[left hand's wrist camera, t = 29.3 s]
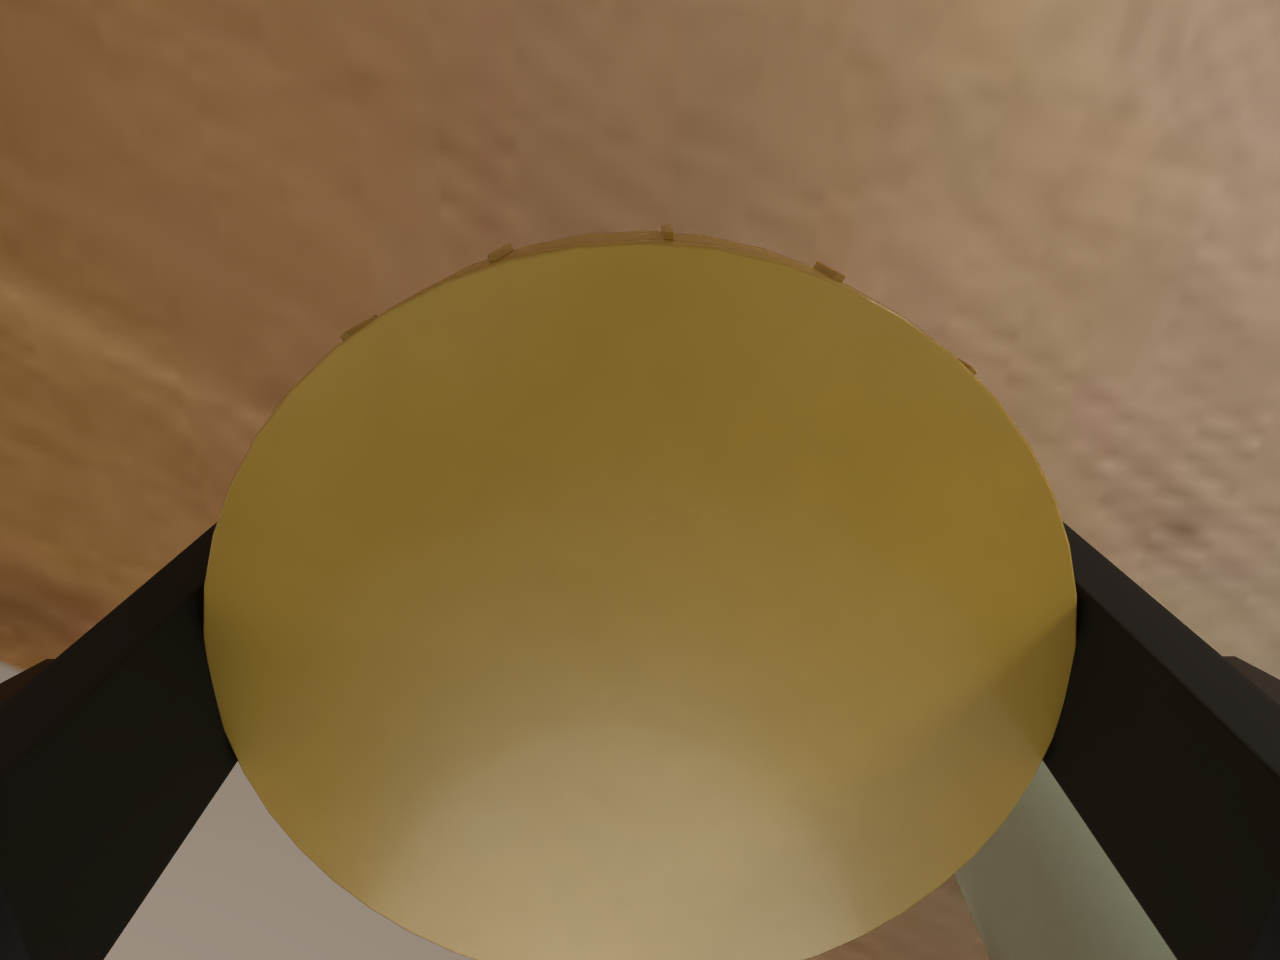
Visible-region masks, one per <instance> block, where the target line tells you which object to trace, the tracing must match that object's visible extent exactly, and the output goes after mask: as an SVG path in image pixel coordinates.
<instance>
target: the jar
mask: <svg viewBox="0 0 1280 960" xmlns="http://www.w3.org/2000/svg"><path fill="white" fill-rule="evenodd" d="M954 875H955V878H956V880H957V882H958V885H959V887H960V889H961V892H962V894H963V896H964V899H965V901H966V903H967V906H968V908H969V910H970V913H971V915H972V917H973V920H974V922H975V925H976V927H977V929H978V932H979V934H980V936H981V939H982V941H983V943H984V946H985V948H986V950H987V953H988V955H989V957H990V960H1177V959H1176V957H1175V956H1174V954H1173V953H1172V951H1171V950H1170V948H1169V947H1168V945H1167V944H1166V943H1165V941H1164V940H1163V938H1162V937H1161V935H1160V934H1159V932H1158V931H1157V929H1156V928H1155V926H1154V925H1153V923H1152V922H1151V920H1150V919H1149V917H1148V916H1147V914H1146V913H1145V911H1144V910H1143V908H1142V907H1141V905H1140V904H1139V903H1138V901H1137V900H1136V898H1135V897H1134V895H1133V894H1132V892H1131V891H1130V889H1129V888H1128V886H1127V885H1126V883H1125V882H1124V880H1123V879H1122V877H1121V876H1120V874H1119V873H1118V871H1117V870H1116V868H1115V867H1114V865H1113V864H1112V863H1111V861H1110V860H1109V858H1108V857H1107V855H1106V854H1105V852H1104V851H1103V849H1102V848H1101V846H1100V845H1099V843H1098V842H1097V840H1096V839H1095V837H1094V836H1093V834H1092V833H1091V831H1090V830H1089V828H1088V827H1087V825H1086V824H1085V823H1084V821H1083V820H1082V818H1081V817H1080V815H1079V814H1078V812H1077V811H1076V809H1075V808H1074V806H1073V805H1072V803H1071V802H1070V800H1069V799H1068V797H1067V796H1066V794H1065V793H1064V791H1063V790H1062V788H1061V787H1060V785H1059V784H1058V783H1057V781H1056V780H1055V778H1054V777H1053V775H1052V774H1051V772H1050V771H1049V769H1048V768H1047V766H1046V765H1045V763H1044V762H1043V760H1042V762H1041V764H1040V766H1039V768H1038V770H1037V772H1036V774H1035V776H1034V778H1033V780H1032V782H1031V783H1030V785H1029V786H1028V788H1027V789H1026V791H1025V792H1024V794H1023V795H1022V797H1021V798H1020V799H1019V801H1018V802H1017V804H1016V805H1015V807H1014V808H1013V810H1012V811H1011V813H1010V814H1009V816H1008V817H1007V819H1006V820H1005V821H1004V822H1003V824H1002V825H1001V826H1000V827H999V828H998V829H997V830H996V832H995V833H994V834H993V835H992V836H991V837H990V838H989V840H988V841H987V842H986V843H985V844H984V845H983V846H982V848H981V849H980V850H979V851H978V852H977V853H976V854H975V855H974V856H973V857H972V858H971V859H970V860H969V861H968V862H967V863H966V864H965V865H963V866H962V867H961V868H960V869H959V870H958V871H957V872H956V873H955V874H954Z"/></svg>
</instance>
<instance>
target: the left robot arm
mask: <svg viewBox="0 0 1280 960" xmlns="http://www.w3.org/2000/svg"><path fill="white" fill-rule="evenodd" d="M1062 522H1063V521H1062ZM216 524H217V523H216ZM216 524H214V525H213V526H212V527H211V528H210V529H209V530H207V531H206V532H205V533H204V534H203V535H201V536H200V537H199V538H198V539H197V540H196V541H194V542H193V543H192V544H191V545H190V546H188V547H187V548H186V549H185V550H184V551H183V552H181V553H180V554H179V555H178V556H177V557H175V558H174V559H173V560H172V561H171V562H169V563H168V564H167V565H166V566H165V567H164V568H162V569H161V570H160V571H159V572H158V573H156V574H155V575H154V576H153V577H152V578H151V579H149V580H148V581H147V582H146V583H145V584H143V585H142V586H141V587H140V588H139V589H138V590H136V591H135V592H134V593H133V594H132V595H130V596H129V597H128V598H127V599H126V600H125V601H123V602H122V603H121V604H120V605H119V606H117V607H116V608H115V609H114V610H113V611H112V612H110V613H109V614H108V615H107V616H106V617H104V618H103V619H102V620H101V621H100V622H99V623H97V624H96V625H95V626H94V627H93V628H91V629H90V630H89V631H88V632H87V633H86V634H84V635H83V636H82V637H81V638H80V639H78V640H77V641H76V642H75V643H74V644H72V645H71V646H70V647H69V648H68V649H67V650H65V651H64V652H63V653H62V654H61V655H59V656H58V657H57V658H56V659H46V660H44V661H42V662H40V663H38V664H36V665H35V666H33V667H31V668H29V669H27V670H25V671H23V672H21V673H19V674H18V675H16V676H14V677H12V678H10V679H8V680H6V681H4V682H2V683H0V960H104V958H105V957H106V955H107V954H108V952H109V951H110V949H111V948H112V946H113V945H114V943H115V942H116V940H117V939H118V937H119V936H120V934H121V933H122V931H123V930H124V928H125V927H126V926H127V924H128V922H129V921H130V920H131V918H132V917H133V915H134V914H135V912H136V911H137V909H138V908H139V906H140V905H141V903H142V902H143V900H144V899H145V897H146V896H147V894H148V893H149V891H150V890H151V888H152V887H153V886H154V884H155V883H156V881H157V880H158V878H159V877H160V875H161V874H162V872H163V871H164V869H165V868H166V866H167V865H168V863H169V862H170V860H171V859H172V857H173V856H174V854H175V853H176V851H177V850H178V848H179V847H180V846H181V844H182V843H183V841H184V840H185V838H186V837H187V835H188V834H189V832H190V831H191V829H192V828H193V826H194V825H195V823H196V822H197V820H198V819H199V817H200V816H201V814H202V813H203V811H204V810H205V808H206V807H207V806H208V804H209V803H210V801H211V800H212V798H213V797H214V795H215V793H216V792H217V791H218V789H219V788H220V786H221V785H222V783H223V782H224V780H225V779H226V777H227V776H228V774H229V773H230V771H231V770H232V768H233V767H234V765H235V764H236V762H237V761H238V759H237V757H236V755H235V753H234V751H233V749H232V746H231V744H230V742H229V740H228V738H227V736H226V733H225V731H224V728H223V724H222V720H221V716H220V712H219V708H218V704H217V700H216V696H215V692H214V688H213V683H212V679H211V675H210V670H209V665H208V660H207V656H206V651H205V644H204V637H203V627H204V583H205V578H206V572H207V566H208V560H209V555H210V549H211V543H212V537H213V533H214V530H215V527H216ZM1063 525H1064V528H1065V531H1066V534H1067V538H1068V541H1069V544H1070V551H1071V558H1072V565H1073V572H1074V579H1075V586H1076V593H1077V622H1076V649H1075V654H1074V659H1073V663H1072V668H1071V673H1070V677H1069V682H1068V686H1067V691H1066V695H1065V699H1064V703H1063V707H1062V711H1061V714H1060V718H1059V722H1058V725H1057V728H1056V731H1055V734H1054V737H1053V740H1052V742H1051V744H1050V746H1049V748H1048V750H1047V752H1046V754H1045V756H1044V758H1043V762H1044V763H1045V765H1046V766H1047V768H1048V769H1049V771H1050V772H1051V774H1052V775H1053V777H1054V778H1055V780H1056V781H1057V783H1058V784H1059V785H1060V787H1061V788H1062V790H1063V791H1064V793H1065V794H1066V796H1067V797H1068V799H1069V800H1070V802H1071V803H1072V805H1073V806H1074V808H1075V809H1076V811H1077V812H1078V814H1079V815H1080V817H1081V818H1082V820H1083V821H1084V823H1085V824H1086V825H1087V827H1088V828H1089V830H1090V831H1091V833H1092V834H1093V836H1094V837H1095V839H1096V840H1097V842H1098V843H1099V845H1100V846H1101V848H1102V849H1103V851H1104V852H1105V854H1106V855H1107V857H1108V858H1109V860H1110V861H1111V863H1112V864H1113V865H1114V867H1115V868H1116V870H1117V871H1118V873H1119V874H1120V876H1121V877H1122V879H1123V880H1124V882H1125V883H1126V885H1127V886H1128V888H1129V889H1130V891H1131V892H1132V894H1133V895H1134V897H1135V898H1136V900H1137V901H1138V903H1139V904H1140V905H1141V907H1142V908H1143V910H1144V911H1145V913H1146V914H1147V916H1148V917H1149V919H1150V920H1151V922H1152V923H1153V925H1154V926H1155V928H1156V929H1157V931H1158V932H1159V934H1160V935H1161V937H1162V938H1163V940H1164V941H1165V943H1166V944H1167V945H1168V947H1169V948H1170V950H1171V951H1172V953H1173V954H1174V956H1175V957H1176V959H1177V960H1280V680H1279V679H1277V678H1275V677H1273V676H1271V675H1269V674H1267V673H1266V672H1264V671H1262V670H1260V669H1258V668H1256V667H1254V666H1252V665H1250V664H1248V663H1246V662H1245V661H1243V660H1241V659H1239V658H1237V657H1235V656H1221V655H1220V654H1219V653H1218V652H1216V651H1215V650H1214V649H1213V648H1212V647H1210V646H1209V645H1208V644H1207V643H1206V642H1205V641H1203V640H1202V639H1201V638H1200V637H1199V636H1197V635H1196V634H1195V633H1194V632H1193V631H1192V630H1190V629H1189V628H1188V627H1187V626H1186V625H1184V624H1183V623H1182V622H1181V621H1180V620H1179V619H1177V618H1176V617H1175V616H1174V615H1173V614H1171V613H1170V612H1169V611H1168V610H1167V609H1165V608H1164V607H1163V606H1162V605H1161V604H1160V603H1158V602H1157V601H1156V600H1155V599H1154V598H1152V597H1151V596H1150V595H1149V594H1148V593H1147V592H1145V591H1144V590H1143V589H1142V588H1141V587H1139V586H1138V585H1137V584H1136V583H1135V582H1134V581H1132V580H1131V579H1130V578H1129V577H1128V576H1126V575H1125V574H1124V573H1123V572H1122V571H1121V570H1119V569H1118V568H1117V567H1116V566H1115V565H1113V564H1112V563H1111V562H1110V561H1109V560H1108V559H1106V558H1105V557H1104V556H1103V555H1102V554H1100V553H1099V552H1098V551H1097V550H1096V549H1095V548H1093V547H1092V546H1091V545H1090V544H1089V543H1087V542H1086V541H1085V540H1084V539H1083V538H1081V537H1080V536H1079V535H1078V534H1077V533H1076V532H1074V531H1073V530H1072V529H1071V528H1070V527H1068V526H1067V525H1066V524H1065V523H1064V522H1063Z"/></svg>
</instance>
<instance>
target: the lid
mask: <svg viewBox="0 0 1280 960" xmlns="http://www.w3.org/2000/svg"><path fill="white" fill-rule="evenodd" d="M488 258H489V259H487V260H484V261H481V262H478V263H475V264H473V265H471V266H469V267H467V268H465V269H463V270H461V271H459V272H457V273H455V274H453V275H451V276H449V277H447V278H445V279H443V280H441V281H439V282H437V283H435V284H433V285H431V286H429V287H427V288H425V289H424V290H422V291H420V292H418V293H416V294H415V295H413V296H411V297H409V298H408V299H406V300H404V301H402V302H401V303H399V304H397V305H396V306H394V307H392V308H390V309H388V310H387V311H385V312H384V313H383V314H381V315H380V316H377V315H374V316H373V317H371V318H369V319H367V320H365V321H364V322H362V323H360V324H358V325H357V326H355V327H353V328H351V329H349V330H348V331H346V332H345V333H344V334H342V335H341V336H340V337H341V338H342V339H343V340H344V341H343V342H342V343H340V344H339V345H337V346H336V347H335V348H334V349H333V350H332V351H331V352H330V353H329V354H328V355H326V356H325V357H324V358H323V359H322V360H321V361H320V362H319V363H318V364H317V365H316V366H315V367H314V368H313V369H312V370H311V371H310V372H309V373H308V374H307V375H306V376H305V377H304V378H303V379H302V380H301V381H299V382H298V383H297V384H296V385H295V386H294V387H293V388H292V389H291V391H290V392H289V393H288V395H287V396H286V397H285V398H284V400H283V401H282V402H281V404H280V405H279V406H278V408H277V409H276V410H275V412H274V413H273V414H272V416H271V417H270V418H269V419H268V421H267V422H266V423H265V425H264V426H263V427H262V429H261V430H260V431H259V433H258V434H257V435H256V437H255V439H254V441H253V443H252V445H251V447H250V448H249V450H248V452H247V454H246V456H245V458H244V460H243V461H242V463H241V465H240V467H239V469H238V471H237V473H236V474H235V476H234V478H233V480H232V482H231V484H230V487H229V490H228V492H227V495H226V498H225V501H224V504H223V507H222V510H221V513H220V516H219V518H218V521H217V524H216V527H215V530H214V533H213V537H212V543H211V549H210V555H209V560H208V566H207V572H206V578H205V583H204V627H203V637H204V644H205V651H206V656H207V660H208V665H209V670H210V675H211V679H212V683H213V688H214V692H215V696H216V700H217V704H218V708H219V712H220V716H221V720H222V724H223V728H224V731H225V733H226V736H227V738H228V740H229V742H230V744H231V746H232V749H233V751H234V753H235V755H236V757H237V759H238V761H239V764H240V766H241V768H242V770H243V772H244V774H245V776H246V777H247V779H248V780H249V782H250V783H251V785H252V787H253V788H254V790H255V791H256V793H257V794H258V796H259V798H260V799H261V801H262V802H263V804H264V805H265V807H266V809H267V810H268V812H269V813H270V814H271V815H272V817H273V818H274V819H275V820H276V821H277V823H278V824H279V825H280V826H281V827H282V829H283V830H284V831H285V832H286V833H287V835H288V836H289V837H290V838H291V839H292V841H293V842H294V843H295V844H296V845H297V847H298V848H299V849H300V850H301V851H302V852H303V853H304V854H305V855H306V856H308V857H309V858H310V859H311V860H312V861H313V862H314V863H315V864H316V865H317V866H318V867H319V868H320V869H321V870H322V871H323V872H324V873H326V874H327V875H328V876H329V877H330V878H331V879H332V880H333V881H334V882H336V883H337V884H338V885H340V886H341V887H342V888H344V889H345V890H346V891H348V892H349V893H350V894H352V895H353V896H354V897H356V898H357V899H358V900H360V901H361V902H362V903H364V904H365V905H366V906H368V907H369V908H370V909H372V910H374V911H375V912H377V913H379V914H380V915H382V916H384V917H386V918H387V919H389V920H391V921H392V922H394V923H396V924H397V925H399V926H401V927H402V928H404V929H406V930H407V931H409V932H411V933H413V934H415V935H417V936H420V937H422V938H424V939H426V940H428V941H430V942H433V943H435V944H437V945H439V946H441V947H443V948H445V949H448V950H450V951H452V952H455V953H457V954H460V955H463V956H466V957H469V958H472V959H475V960H806V959H809V958H812V957H815V956H818V955H821V954H823V953H825V952H828V951H830V950H832V949H834V948H837V947H839V946H841V945H843V944H846V943H848V942H850V941H853V940H855V939H857V938H859V937H862V936H863V935H865V934H867V933H869V932H871V931H872V930H874V929H876V928H878V927H879V926H881V925H883V924H885V923H886V922H888V921H890V920H892V919H894V918H895V917H897V916H899V915H901V914H902V913H904V912H905V911H907V910H908V909H909V908H911V907H912V906H914V905H915V904H916V903H918V902H919V901H920V900H922V899H923V898H925V897H926V896H927V895H929V894H930V893H932V892H933V891H934V890H936V889H937V888H939V887H940V886H941V885H942V884H943V883H945V882H946V881H947V880H948V879H949V878H950V877H951V876H952V875H953V874H955V873H956V872H957V871H958V870H959V869H960V868H961V867H962V866H963V865H965V864H966V863H967V862H968V861H969V860H970V859H971V858H972V857H973V856H974V855H975V854H976V853H977V852H978V851H979V850H980V849H981V848H982V846H983V845H984V844H985V843H986V842H987V841H988V840H989V838H990V837H991V836H992V835H993V834H994V833H995V832H996V830H997V829H998V828H999V827H1000V826H1001V825H1002V824H1003V822H1004V821H1005V820H1006V819H1007V817H1008V816H1009V814H1010V813H1011V811H1012V810H1013V808H1014V807H1015V805H1016V804H1017V802H1018V801H1019V799H1020V798H1021V797H1022V795H1023V794H1024V792H1025V791H1026V789H1027V788H1028V786H1029V785H1030V783H1031V782H1032V780H1033V778H1034V776H1035V774H1036V772H1037V770H1038V768H1039V766H1040V764H1041V762H1042V760H1043V758H1044V756H1045V754H1046V752H1047V750H1048V748H1049V746H1050V744H1051V742H1052V740H1053V737H1054V734H1055V731H1056V728H1057V725H1058V722H1059V718H1060V714H1061V711H1062V707H1063V703H1064V699H1065V695H1066V691H1067V686H1068V682H1069V677H1070V673H1071V668H1072V663H1073V659H1074V654H1075V649H1076V622H1077V593H1076V586H1075V579H1074V572H1073V565H1072V558H1071V551H1070V544H1069V541H1068V538H1067V534H1066V531H1065V528H1064V525H1063V522H1062V518H1061V515H1060V512H1059V509H1058V505H1057V502H1056V499H1055V496H1054V493H1053V491H1052V489H1051V487H1050V485H1049V483H1048V481H1047V479H1046V477H1045V475H1044V473H1043V471H1042V469H1041V467H1040V465H1039V463H1038V461H1037V459H1036V457H1035V455H1034V453H1033V451H1032V449H1031V447H1030V445H1029V443H1028V442H1027V440H1026V439H1025V438H1024V436H1023V435H1022V433H1021V432H1020V431H1019V429H1018V428H1017V426H1016V425H1015V424H1014V422H1013V421H1012V419H1011V418H1010V417H1009V415H1008V414H1007V412H1006V411H1005V410H1004V408H1003V407H1002V405H1001V404H1000V403H999V401H998V400H997V398H996V397H995V396H994V395H993V394H992V393H991V392H990V391H989V390H988V389H987V388H986V387H985V386H984V385H983V384H982V383H981V382H980V381H979V380H978V379H977V378H976V377H975V376H974V374H976V373H977V371H976V370H975V369H974V368H973V367H972V366H970V365H969V364H967V363H965V362H964V361H962V360H960V359H959V358H957V357H956V356H955V355H954V354H952V353H951V352H950V351H948V350H947V349H946V348H944V347H943V346H942V345H940V344H939V343H938V342H936V341H935V340H934V339H932V338H931V337H930V336H928V335H927V334H926V333H924V332H923V331H922V330H920V329H919V328H918V327H916V326H915V325H914V324H912V323H911V322H910V321H908V320H907V319H906V318H904V317H903V316H901V315H899V314H898V313H896V312H894V311H893V310H891V309H889V308H887V307H886V306H884V305H882V304H880V303H879V302H877V301H875V300H873V299H872V298H870V297H868V296H866V295H865V294H863V293H861V292H859V291H857V290H855V289H854V288H852V287H850V286H848V285H846V284H844V283H843V282H842V281H843V279H844V277H845V275H843V274H841V273H839V272H837V271H835V270H834V269H832V268H830V267H828V266H826V265H824V264H822V263H820V262H818V261H817V262H816V264H815V266H814V267H811V266H809V265H806V264H803V263H801V262H798V261H795V260H793V259H790V258H787V257H785V256H782V255H779V254H777V253H774V252H771V251H769V250H766V249H763V248H759V247H754V246H750V245H745V244H741V243H736V242H732V241H727V240H723V239H718V238H714V237H709V236H704V235H692V234H680V233H674V231H673V229H672V227H671V225H662V232H655V231H632V232H614V233H595V234H584V235H579V236H573V237H568V238H563V239H558V240H553V241H548V242H543V243H537V244H532V245H528V246H525V247H522V248H519V249H516V250H513V247H512V244H511V243H510V244H507V245H504V246H502V247H500V248H499V249H497V250H495V251H494V252H492V253H490V254H488Z"/></svg>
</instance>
